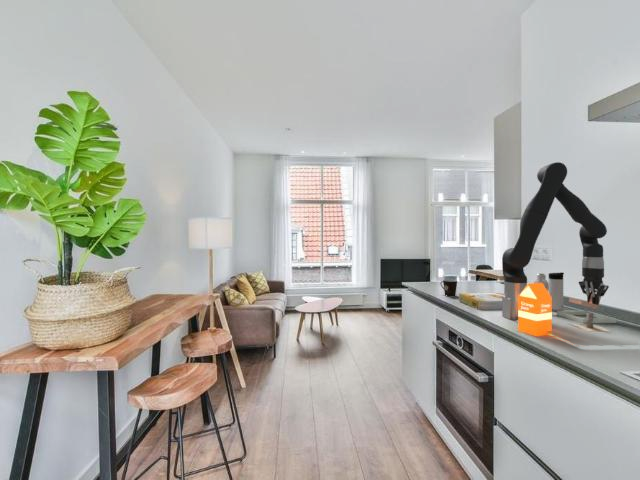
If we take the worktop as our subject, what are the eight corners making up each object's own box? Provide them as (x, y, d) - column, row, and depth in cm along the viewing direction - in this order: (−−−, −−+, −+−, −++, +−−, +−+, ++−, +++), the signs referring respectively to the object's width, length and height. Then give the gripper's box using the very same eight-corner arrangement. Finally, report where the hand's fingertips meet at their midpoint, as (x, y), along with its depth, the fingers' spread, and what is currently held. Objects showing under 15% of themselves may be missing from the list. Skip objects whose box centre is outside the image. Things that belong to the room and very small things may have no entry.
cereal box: (458, 292, 184) (503, 291, 186) (458, 302, 184) (502, 301, 186) (478, 300, 164) (528, 299, 166) (477, 310, 164) (527, 309, 166)
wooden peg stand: (588, 334, 122) (588, 316, 122) (567, 326, 132) (568, 310, 132) (613, 334, 122) (613, 316, 121) (591, 326, 132) (591, 310, 131)
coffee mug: (459, 296, 198) (459, 281, 198) (446, 297, 198) (446, 281, 198) (452, 293, 209) (452, 279, 209) (439, 293, 210) (439, 279, 209)
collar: (581, 304, 137) (584, 291, 137) (568, 301, 144) (571, 289, 144) (602, 310, 137) (606, 297, 137) (589, 306, 144) (592, 294, 144)
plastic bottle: (550, 313, 155) (550, 273, 155) (548, 315, 150) (548, 275, 150) (534, 311, 159) (534, 272, 159) (532, 313, 154) (532, 274, 154)
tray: (582, 325, 133) (582, 318, 133) (556, 316, 148) (556, 310, 148) (616, 325, 133) (616, 318, 133) (587, 316, 148) (587, 310, 148)
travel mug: (566, 312, 157) (566, 273, 157) (552, 311, 158) (552, 273, 158) (559, 309, 163) (559, 271, 163) (545, 308, 164) (545, 271, 164)
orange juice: (517, 330, 127) (518, 282, 127) (532, 328, 130) (532, 281, 130) (537, 336, 119) (537, 285, 119) (552, 333, 123) (552, 283, 122)
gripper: (572, 265, 147) (572, 301, 147) (598, 268, 133) (598, 308, 134) (588, 265, 147) (588, 301, 147) (615, 268, 133) (615, 308, 134)
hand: (593, 304), depth 140 cm, fingers closed on collar
